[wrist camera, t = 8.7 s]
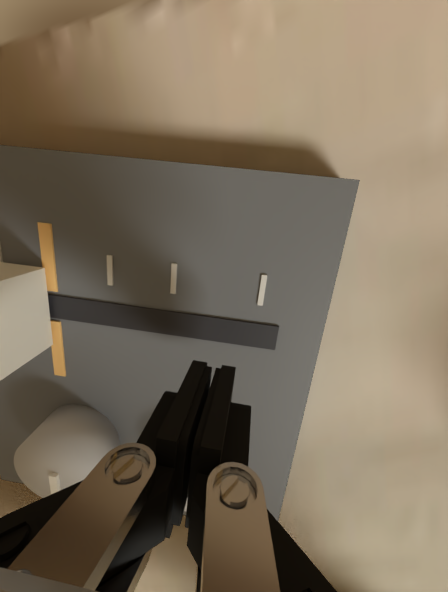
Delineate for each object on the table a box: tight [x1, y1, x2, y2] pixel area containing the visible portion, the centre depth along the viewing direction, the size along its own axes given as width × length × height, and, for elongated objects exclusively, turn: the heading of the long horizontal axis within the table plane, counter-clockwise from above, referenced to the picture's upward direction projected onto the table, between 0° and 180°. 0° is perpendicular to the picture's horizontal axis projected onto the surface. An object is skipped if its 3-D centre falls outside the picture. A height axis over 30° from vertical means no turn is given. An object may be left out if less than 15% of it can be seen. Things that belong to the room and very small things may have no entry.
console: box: [0, 145, 360, 521], centre depth 14 cm, size 18×20×5 cm
